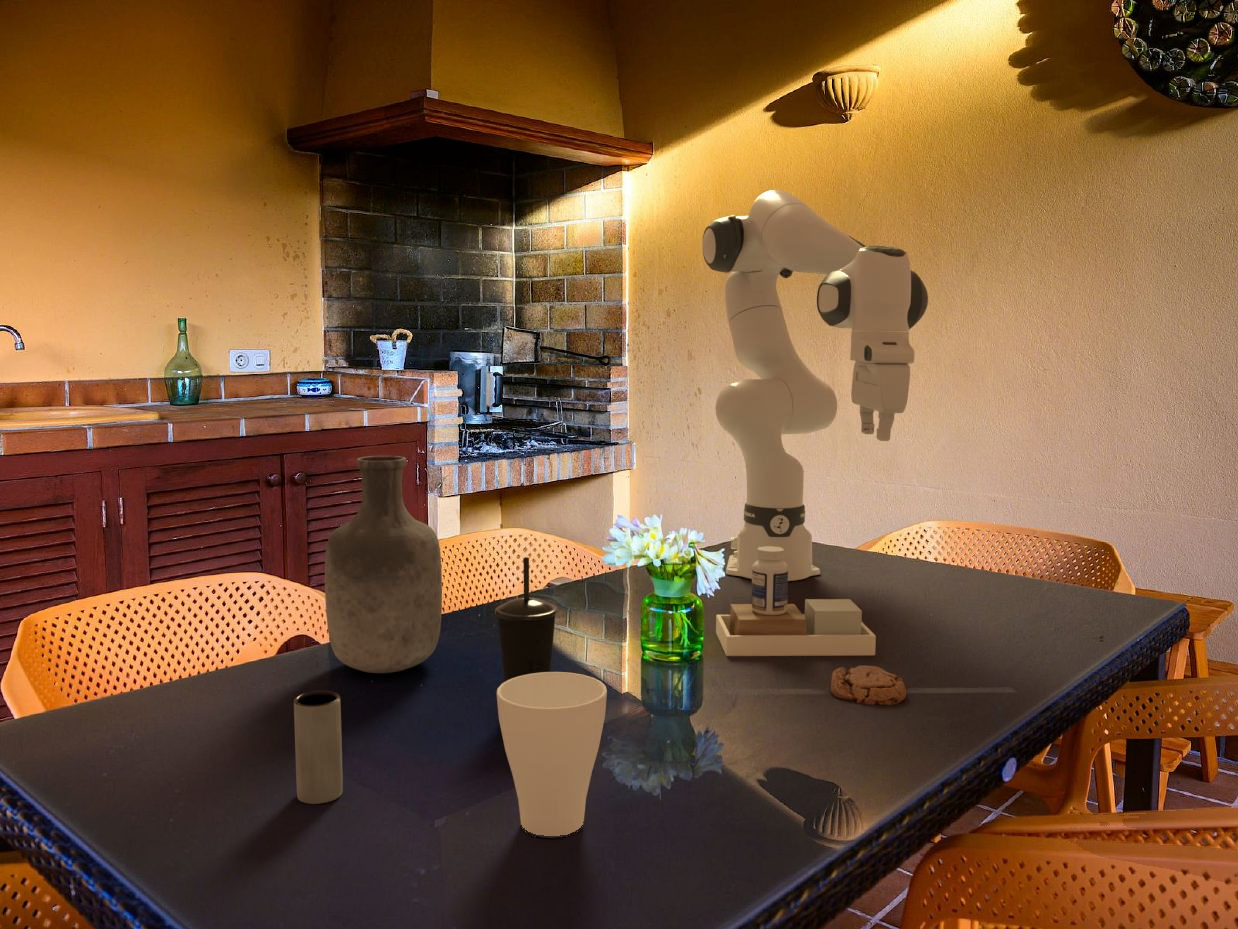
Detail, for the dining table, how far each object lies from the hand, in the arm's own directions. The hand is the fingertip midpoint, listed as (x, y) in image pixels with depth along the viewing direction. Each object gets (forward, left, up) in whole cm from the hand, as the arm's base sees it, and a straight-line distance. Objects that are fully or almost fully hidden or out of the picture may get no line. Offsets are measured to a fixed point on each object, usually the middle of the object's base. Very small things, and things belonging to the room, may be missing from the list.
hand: (875, 437), depth 165 cm
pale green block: (+11, -9, -31) cm, 34 cm away
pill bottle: (+11, -18, -26) cm, 33 cm away
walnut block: (+11, -19, -31) cm, 37 cm away
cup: (+68, -50, -32) cm, 90 cm away
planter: (+61, -74, -32) cm, 100 cm away
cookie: (+31, -9, -32) cm, 45 cm away
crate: (+11, -15, -31) cm, 36 cm away
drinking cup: (+39, -54, -32) cm, 73 cm away
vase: (+20, -75, -32) cm, 83 cm away
